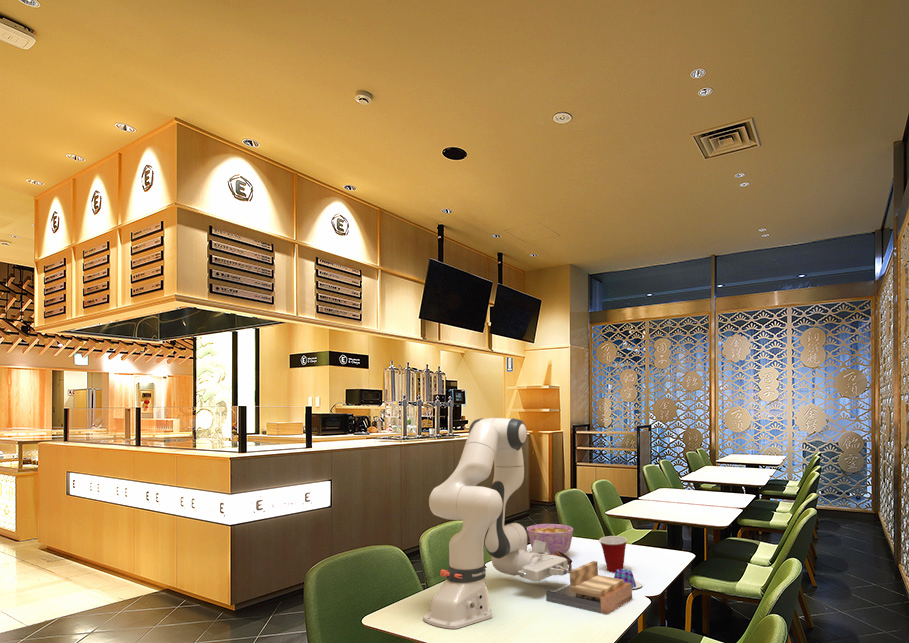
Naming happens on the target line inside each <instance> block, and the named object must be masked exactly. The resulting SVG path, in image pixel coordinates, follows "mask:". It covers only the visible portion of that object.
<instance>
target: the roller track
mask: <svg viewBox="0 0 909 643" xmlns="http://www.w3.org/2000/svg"><path fill="white" fill-rule="evenodd" d="M600 599H601V601H597V600H595V599H593V600H592V599H588V598H585V597H578V596H576V593H573V592H571V590H570V584H569V585H567V586H564V587H562V588H560V589H558V590H556V591H554V590H549V589H548V590H545V600H546V602H551V603H554V604H558V605H564V606H568V607H572V608H576V609H582V610H585V611H589V612H590V611H591V612H595V613H599V614H602V615H609V614H610V612H611V613H612V612H614V611H616V610H618V609H619V608H621V607H622V606H623V604H624V603H626V602H627V603H629V602H631V601H632V600H633V589H632V585H631V583H624V584H622V585H620V586H618V587H617V588H615V589H613V590H611V591H609V592H607V593H605V594H604V595H602V596H600ZM631 599H632V600H631ZM630 600H631V601H630ZM628 601H629V602H628ZM627 603H626V604H627ZM621 605H622V606H621ZM624 605H625V604H624ZM620 606H621V607H620ZM618 607H619V608H618ZM615 609H616V610H615Z"/></svg>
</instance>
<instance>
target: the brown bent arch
mask: <svg viewBox="0 0 909 643" xmlns="http://www.w3.org/2000/svg"><path fill="white" fill-rule="evenodd" d="M552 555H555V556H559V557H563V558H565V559H567V564H568V568H567V573H570V571H571V570H573V569H572V566H573V565H572V563H573V560H572V559H571V558H570V557H569V556H568V555H567V554H563V553H561V552H559V551H556V553H555V554H552Z"/></svg>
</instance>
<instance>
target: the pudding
mask: <svg viewBox="0 0 909 643" xmlns="http://www.w3.org/2000/svg"><path fill="white" fill-rule="evenodd" d="M613 575H614V576H613V578H617V579H623V580H624V583H631V585H632V590H635V589H638V588H641V587H642V586H643V584H642V583H641V582H639V581H638V580H635V577H634V574H633V572H632V570H631V569H629V568H627V569H626V568H623V569H617V570H616V571H615V573H614V574H613Z"/></svg>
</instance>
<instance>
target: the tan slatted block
mask: <svg viewBox="0 0 909 643" xmlns="http://www.w3.org/2000/svg"><path fill="white" fill-rule="evenodd" d="M598 568H599V567H598V561H596V560H592V561H590V562H587V563H585V564H582V565H580V566H579V567H576V568H573V569H571V571H570V572H569V585H570V590H571V592H573V593H576V596H578V597H585V598H588V599H592V600H593V599H595V600H597V601H601V599H600V596H602V595H604V594H605V593H607V592H609V591H611V590H613V589H615V588H617V587H618V586H620V585H622V584H624V580H623V579H617V578H614V577H611V576H605V575H601V574H599V569H598Z"/></svg>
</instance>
